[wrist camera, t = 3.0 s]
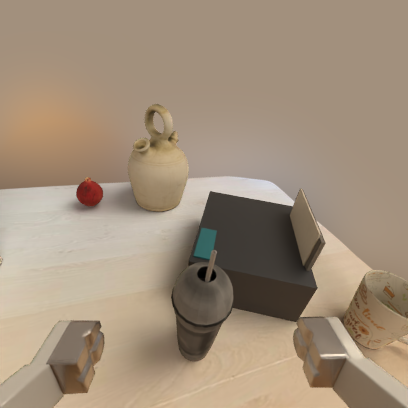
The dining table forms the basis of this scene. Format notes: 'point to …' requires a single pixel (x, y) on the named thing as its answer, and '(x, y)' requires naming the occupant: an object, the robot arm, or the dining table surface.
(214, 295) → the beverage cup
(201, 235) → the printer
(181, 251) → the dining table surface
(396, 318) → the mug
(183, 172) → the jug
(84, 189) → the red pomegranate
